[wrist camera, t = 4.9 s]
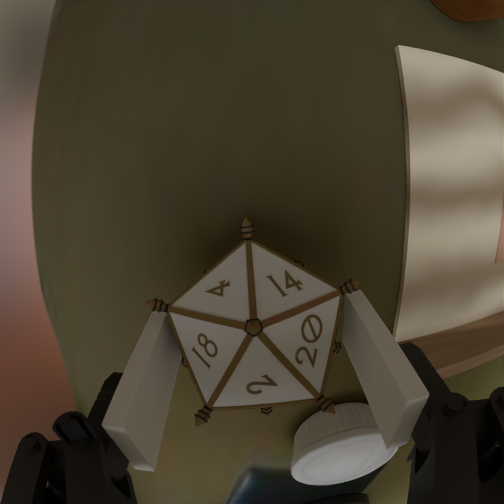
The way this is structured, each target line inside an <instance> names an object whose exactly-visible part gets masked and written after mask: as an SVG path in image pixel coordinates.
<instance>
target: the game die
mask: <svg viewBox="0 0 504 504" xmlns="http://www.w3.org/2000/svg"><path fill="white" fill-rule="evenodd" d="M253 226H254V225H252V224H251V223H250V222H249V220H248V219H247V218H246V217H245V219H244V221H243V223H242V225H241V226H240V228H241V231H242V232H241V234H242V235H243V237H244V239H243V241H242V242H240V243H239V244H238V245H237V246H236V247H235V248H233V249H232V250H231V251H230V252H229V253H227V254H226V255H225V256H224V257H223V258H222V259H220V260H219V261H218V262H217V263H216V264H214V265H213V266H212V267H211V268H210V269H209V270H204V273H203V275H202V276H200V277H199V278H198V279H197V280H196V281H195V282H193V283H192V284H191V285H190V286H189V287H188V288H186V289H185V290H184V291H183V292H182V293H181V294H179V295H178V296H177V297H176V298H175V299H174V300H172V301H171V302H170V303H169V304H166V303H164V302H163V300H161V301H160V300H157V298H156V299H153V300H150V301H146V303H147V304H148V306H149V307H150V308H151V309H152V311H153V312H154V311H158V313H160V312H165V313H166V314H167V317H168V319H169V322H170V325H171V327H172V330H173V333H174V335H175V338H176V340H177V343H178V346H179V348H180V351H181V353H182V356H183V357H182V362H181V365H184V366H185V367H186V368H188V370H189V372H190V375H191V377H192V379H193V382H194V384H195V386H196V389H197V391H198V393H199V395H200V398H201V400H202V402H203V404H204V407H203V408H202V409H201V410H198V411H199V412H198V413H197V414H195V426H198V425H200V424H203V423H205V422H206V423H207V420H208V418H210V412H211V411H213V410H237V409H252V408H261V409H262V410H261V412H262V413H264V414H265V415H268V414H269V413H270V412H272V410H271V408H272V407H275V406H284V405H292V404H300V403H307V402H314V401H317V402H318V403H319V408H322V409H323V413H324V412H328V413H333V414H335V408H334V403H335V402H332V401H330V398H326V397H324V395H323V394H324V390H325V386H326V382H327V377H328V373H329V369H330V364H331V359H332V355H333V352H336V353H338V352H339V351H340V350H342V349H343V348H342V346H341V345H340V342H339V343H336V342H335V340H336V335H337V330H338V324H339V319H340V313H341V308H342V302H343V296H344V295H345V294H348V293H350V294H352V293H351V292H353V291H357V288H358V287H359V285H360V283H361V281H362V280H352V279H351V278H350V280H349V281H348V282H345V284H344V285H343V286H342V287H339V286H337V285H335V284H333V283H331V282H330V281H328V280H326V279H324V278H322V277H321V276H319V275H317V274H315V273H313V272H312V271H310V270H308V269H306V268H304V265H303V264H302V260H299V261H294V262H293V261H292V260H290V259H288V258H286V257H284V256H283V255H281V254H279V253H277V252H275V251H273V250H272V249H270V248H268V247H266V246H264V245H262V244H261V243H259V242H257V241H255V240H253V239H252V234H253V232H254V231H253Z"/></svg>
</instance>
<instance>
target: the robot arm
mask: <svg viewBox="0 0 504 504" xmlns="http://www.w3.org/2000/svg"><path fill="white" fill-rule="evenodd" d="M351 293H352V294H350V293H348V294H345V297H344V318H343V334H342V342H343V344H344V346H345V349H346V351H347V353H348V356H349V358H350V360H351V362H352V365H353V367H354V369H355V372H356V374H357V376H358V379H359V381H360V384H361V386H362V388H363V391H364V393H365V396H366V398H367V400H368V403H369V405H370V408H371V410H372V413H373V415H374V418H375V420H376V423H377V425H378V428H379V430H380V433H381V435H382V438H383V440H384V443H385V446H386V448H387V450H390V449H393V448H396V447H399V446H403V445H406V444H407V443H408V441H409V439H410V437H411V435H412V438H413V440H414V442H415V445H414V446H413V448H412V450H411V452H410V454H409V455H408V458H407V461H410V459H411V458H412V463H411V474H410V484H409V492H408V500H407V504H504V387H498V388H497V389H495V390H494V391H493V392H492V394H491V395H490V397H489V399H482V400H473V401H469V400H468V399H467V398H466V397H465V396H463V395H461V394H459V393H453V392H451V391H450V390H449V389H448V387H447V386H446V384H445V383H444V381H443V380H442V378H441V377H440V375H439V374H438V372H437V371H436V370H435V368H434V367H433V366H432V364H431V362H430V361H429V360H428V359H427V357H426V355H425V354H424V353H423V351H422V350H421V348H419V347H418V346H416V345H415V344H413V343H412V342H407V343H403V344H399V345H398V343H397V342H396V340H395V339H394V337H393V336H392V334H391V333H390V331H389V330H388V328H387V327H386V326H385V324H384V323H383V321H382V320H381V318H380V317H379V315H378V314H377V312H376V311H375V310H374V308H373V307H372V305H371V304H370V302H369V301H368V300H367V298H366V297H365V295H364V294H363V292H362V291H361V290H357V291H353V292H351ZM180 361H181V354H180V350H179V347H178V344H177V341H176V338H175V335H174V333H173V330H172V327H171V325H170V322H169V319H168V317H167V314H166V313H165V312H160V313H158V311H154V312H153V311H152V313H151V315H150V317H149V319H148V321H147V324H146V326H145V328H144V330H143V332H142V334H141V336H140V338H139V340H138V342H137V345H136V347H135V349H134V351H133V353H132V355H131V357H130V360H129V362H128V364H127V366H126V368H125V371H124V373H117V372H113V373H112V374H111V375H110V376H109V377H108V378H107V379H106V380H105V382H104V384H103V386H102V388H101V390H100V391H101V392H99V394H98V396H97V400H95V403H94V405H93V407H92V409H91V411H90V413H89V416H88V418H86V417H85V416H84V415H83V414H82V413H80V412H77V411H71V412H67V413H64V414H62V415H61V416H59V417H58V418H57V419H56V421H55V422H54V424H53V427H52V429H53V431H54V432H55V433H56V434H57V435H58V437H59V438H60V439H61V440H57V441H48V440H47V439H46V438H45V437H44V436H43V435H42V434H40V433H37V432H33V433H29V434H27V435H25V436H24V437H23V438H22V439H21V441H20V443H19V445H18V448H17V451H16V454H15V456H14V460H13V462H12V465H11V468H10V472H9V475H8V478H7V482H6V485H5V488H4V492H3V496H2V500H1V503H0V504H137V500H136V496H135V492H134V488H133V484H132V479H131V476H130V474H129V472H128V471H127V467H128V463H129V462H130V464H131V465H132V466H133V467H134V468H135V469H137V470H145V471H154V472H155V468H156V463H157V459H158V454H159V450H160V445H161V440H162V436H163V432H164V427H165V423H166V419H167V414H168V410H169V406H170V402H171V397H172V393H173V389H174V385H175V381H176V377H177V373H178V369H179V365H180ZM47 482H48V483H49V484H48V486H47V488H46V485H47ZM309 504H370V503H369V499H368V496H367V495H364V494H349V495H342V496H336V497H331V498H327V499H323V500H319V501H315V502H312V503H309Z"/></svg>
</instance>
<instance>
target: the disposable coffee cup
mask: <svg viewBox="0 0 504 504" xmlns="http://www.w3.org/2000/svg"><path fill="white" fill-rule="evenodd" d="M431 1H432V2H433V3H434V4H435V6H436V7H438V8H439V9H440V10H441V11H442V12H443V13H445V14H446V15H447V16H449V17H451V18H452V19H454V20H457V21H459V22H464V23H466V22H472V21H480V20H487V19H496V18H504V0H431Z"/></svg>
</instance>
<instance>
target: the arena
mask: <svg viewBox="0 0 504 504" xmlns="http://www.w3.org/2000/svg"><path fill="white" fill-rule="evenodd" d="M394 48H395V54H396V60H397V66H398V72H399V80H400V87H401V96H402V105H403V116H404V130H405V148H406V217H405V236H404V249H403V261H402V271H401V280H400V288H399V296H398V303H397V310H396V316H395V322H394V328H393V333H392V336H393V337H394V339H395V340H396V342H397V343H398V345H399V344H403V343H407V342H412V343H413V344H415V345H416V346H418V347H419V348H421V350H422V351H423V353H424V354H425V355H426V357H427V359H428V360H429V361H430V362H431V364H432V366H433V367H434V368H435V370H436V371H437V372H438V374H439V375H440V377H441V378H442V379H445V378H448V377H451V376H454V375H456V374H459V373H461V372H464V371H467V370H469V369H472V368H474V367H476V366H479V365H481V364H484V363H486V362H488V361H490V360H493V359H495V358H497V357H499V356H501V355H503V354H504V73H501V72H499V71H496V70H493V69H490V68H488V67H485V66H482V65H479V64H476V63H472V62H469V61H466V60H462V59H459V58H455V57H452V56H448V55H444V54H440V53H436V52H431V51H427V50H422V49H417V48H412V47H406V46H400V45H398V46H396V47H394Z"/></svg>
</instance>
